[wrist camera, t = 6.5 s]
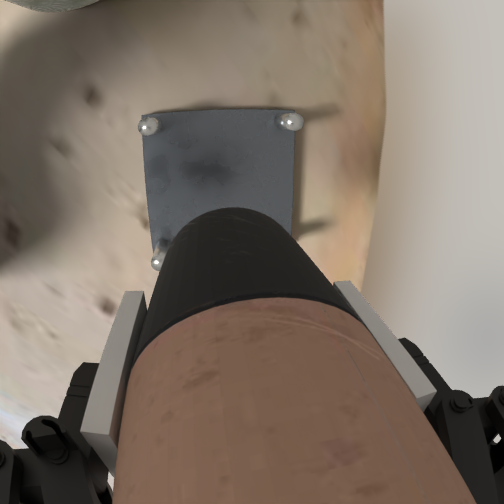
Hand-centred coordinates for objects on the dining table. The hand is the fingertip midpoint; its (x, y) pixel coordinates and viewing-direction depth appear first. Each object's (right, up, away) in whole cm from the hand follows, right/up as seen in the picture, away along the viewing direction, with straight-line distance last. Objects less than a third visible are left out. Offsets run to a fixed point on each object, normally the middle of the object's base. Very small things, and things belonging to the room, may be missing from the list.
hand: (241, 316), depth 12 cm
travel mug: (-1, +2, +4) cm, 4 cm away
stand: (-3, +10, +19) cm, 22 cm away
